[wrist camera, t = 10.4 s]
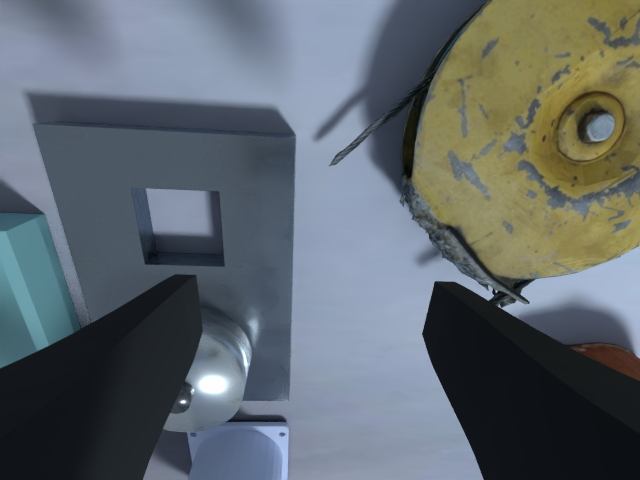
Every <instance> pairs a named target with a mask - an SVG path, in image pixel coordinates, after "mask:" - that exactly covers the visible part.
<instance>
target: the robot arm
mask: <svg viewBox="0 0 640 480" xmlns="http://www.w3.org/2000/svg"><path fill="white" fill-rule="evenodd" d="M202 332H203V326H202V318H201V309H200V301H199V293H198V284H197V276H196V275H186V274H175V275H173V276H171V277H169V278H167V279H165V280H163V281H162V282H160V283H158V284H157V285H155V286H153V287H152V288H150V289H148V290H147V291H145V292H144V293H142V294H140V295H139V296H137V297H135V298H134V299H132V300H130V301H129V302H127V303H125V304H124V305H122V306H120V307H119V308H117V309H115V310H114V311H112V312H110V313H109V314H107V315H105V316H103V317H101V318H100V319H98V320H96V321H94V322H92V323H91V324H89V325H87V326H85V327H83V328H82V329H80V330H78V331H76V332H74V333H73V334H71V335H69V336H67V337H65V338H63V339H61V340H59V341H57V342H55V343H53V344H51V345H49V346H47V347H45V348H43V349H41V350H39V351H37V352H35V353H32V354H30V355H28V356H26V357H24V358H22V359H20V360H18V361H15V362H13V363H11V364H9V365H7V366H4V367H2V368H0V480H143V477H144V474H145V471H146V469H147V466H148V463H149V460H150V457H151V455H152V453H153V450H154V448H155V445H156V443H157V441H158V438H159V436H160V434H161V432H162V429H163V427H164V425H165V423H166V421H167V419H168V416H169V414H170V412H171V410H172V408H173V406H174V403H175V401H176V399H177V397H178V395H179V393H180V390H181V388H182V386H183V384H184V382H185V379H186V377H187V375H188V373H189V370H190V368H191V366H192V364H193V361H194V358H195V355H196V352H197V349H198V346H199V342H200V339H201V335H202ZM422 335H423V338H424V341H425V344H426V348H427V351H428V354H429V357H430V360H431V363H432V365H433V367H434V370H435V372H436V374H437V376H438V378H439V380H440V382H441V385H442V387H443V389H444V391H445V393H446V395H447V397H448V399H449V401H450V403H451V405H452V407H453V410H454V412H455V414H456V416H457V418H458V420H459V422H460V424H461V426H462V428H463V430H464V432H465V434H466V437H467V439H468V441H469V443H470V446H471V448H472V450H473V452H474V455H475V457H476V460H477V463H478V465H479V468H480V471H481V473H482V476H483V479H484V480H640V381H639V380H637V379H634V378H632V377H630V376H628V375H625V374H623V373H621V372H619V371H616V370H614V369H612V368H610V367H608V366H606V365H604V364H602V363H600V362H598V361H596V360H594V359H591V358H589V357H587V356H585V355H583V354H581V353H579V352H577V351H575V350H573V349H571V348H569V347H567V346H566V345H564V344H562V343H560V342H558V341H556V340H555V339H553V338H551V337H549V336H547V335H545V334H544V333H542V332H540V331H538V330H536V329H535V328H533V327H531V326H530V325H528V324H526V323H524V322H523V321H521V320H519V319H518V318H516V317H514V316H512V315H511V314H509V313H507V312H506V311H504V310H503V309H501V308H499V307H498V306H496V305H494V304H493V303H491V302H489V301H488V300H486V299H484V298H483V297H481V296H479V295H478V294H476V293H474V292H473V291H471V290H469V289H467V288H466V287H464V286H462V285H460V284H458V283H456V282H441V281H435V283H434V288H433V292H432V296H431V300H430V304H429V308H428V313H427V317H426V321H425V325H424V329H423V333H422ZM288 435H289V425H288V424H287V423H285V422H225V423H223V424H222V425H219V426H217V427H215V428H212V429H209V430H204V431H198V432H187V437H188V442H189V448H190V454H191V459H192V467H191V471H190V474H189V477H188V480H287V476H288Z"/></svg>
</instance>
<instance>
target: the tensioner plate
mask: <svg viewBox="0 0 640 480" xmlns="http://www.w3.org/2000/svg"><path fill="white" fill-rule="evenodd" d="M33 127H34V130H35V134H36V137H37V140H38V144H39V147H40V151H41V154H42V157H43V161H44V164H45V167H46V171H47V174H48V177H49V181H50V184H51V187H52V191H53V194H54V198H55V201H56V204H57V208H58V211H59V214H60V218H61V221H62V224H63V228H64V231H65V234H66V238H67V241H68V245H69V248H70V251H71V255H72V258H73V261H74V265H75V268H76V271H77V275H78V278H79V281H80V285H81V288H82V292H83V295H84V298H85V302H86V305H87V308H88V312H89V315H90V318H91V322H94V321H96V320H98V319H100V318H101V317H103V316H105V315H107V314H109V313H110V312H112V311H114V310H115V309H117V308H119V307H120V306H122V305H124V304H125V303H127V302H129V301H130V300H132V299H134V298H135V297H137V296H139V295H140V294H142V293H144V292H145V291H147V290H148V289H150V288H152V287H153V286H155V285H157V284H158V283H160V282H162V281H163V280H165V279H167V278H169V277H171V276H173V275H175V274H186V275H196V276H197V284H198V293H199V301H200V309H201V318H202V326H203V332H202V335H201V339H200V342H199V346H198V349H197V352H196V355H195V358H194V361H193V364H192V366H191V368H190V370H189V373H188V375H187V377H186V379H185V382H184V384H183V386H182V388H181V390H180V393H179V395H178V397H177V399H176V401H175V403H174V406H173V408H172V410H171V412H170V414H169V416H168V419H167V421H166V423H165V425H164V427H163V429H164V430H169V431H175V432H198V431H204V430H209V429H212V428H215V427H217V426H219V425H222V424H223V423H225V422H226V421H228V420H229V419H230V418H232V417H233V416H234V415H235V413H236V412H237V411H238V409H239V408H240V405H241V403H242V401H289V390H290V357H291V316H292V275H293V235H294V194H295V153H296V135H287V134H269V133H251V132H233V131H215V130H197V129H179V128H161V127H143V126H125V125H107V124H89V123H71V122H48V123H37V124H33ZM145 188H153V189H176V190H199V191H219V196H220V209H221V222H222V236H223V249H224V255H217V254H186V253H157V252H156V247H155V241H154V235H153V229H152V224H151V218H150V212H149V206H148V201H147V195H146V189H145Z"/></svg>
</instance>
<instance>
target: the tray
mask: <svg viewBox="0 0 640 480" xmlns="http://www.w3.org/2000/svg"><path fill="white" fill-rule="evenodd" d="M80 329H81V328H80V325H79V321H78V318H77V315H76V312H75V309H74V306H73V303H72V299H71V296H70V293H69V290H68V287H67V284H66V281H65V278H64V274H63V271H62V268H61V265H60V262H59V259H58V256H57V252H56V249H55V246H54V243H53V240H52V237H51V234H50V230H49V227H48V224H47V221H46V218H45V215H44V214H24V213H0V368H2V367H4V366H7V365H9V364H11V363H13V362H15V361H18V360H20V359H22V358H24V357H26V356H28V355H30V354H32V353H35V352H37V351H39V350H41V349H43V348H45V347H47V346H49V345H51V344H53V343H55V342H57V341H59V340H61V339H63V338H65V337H67V336H69V335H71V334H73V333H74V332H76V331H78V330H80Z"/></svg>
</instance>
